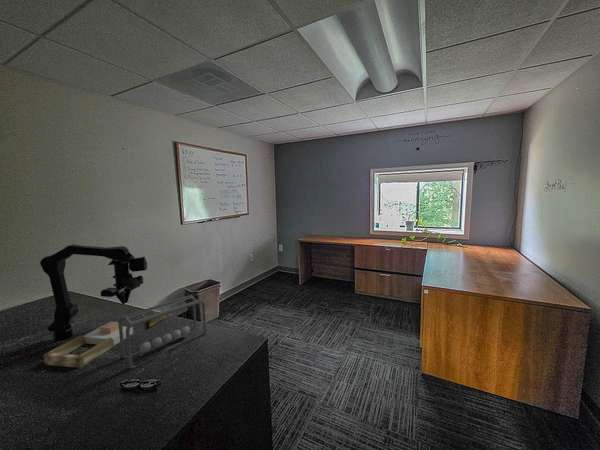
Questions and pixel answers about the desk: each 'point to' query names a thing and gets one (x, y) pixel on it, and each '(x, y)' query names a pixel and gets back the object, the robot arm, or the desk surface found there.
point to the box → (62, 357)
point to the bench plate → (104, 336)
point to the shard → (156, 320)
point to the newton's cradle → (157, 340)
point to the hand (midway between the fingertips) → (124, 303)
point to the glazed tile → (109, 327)
